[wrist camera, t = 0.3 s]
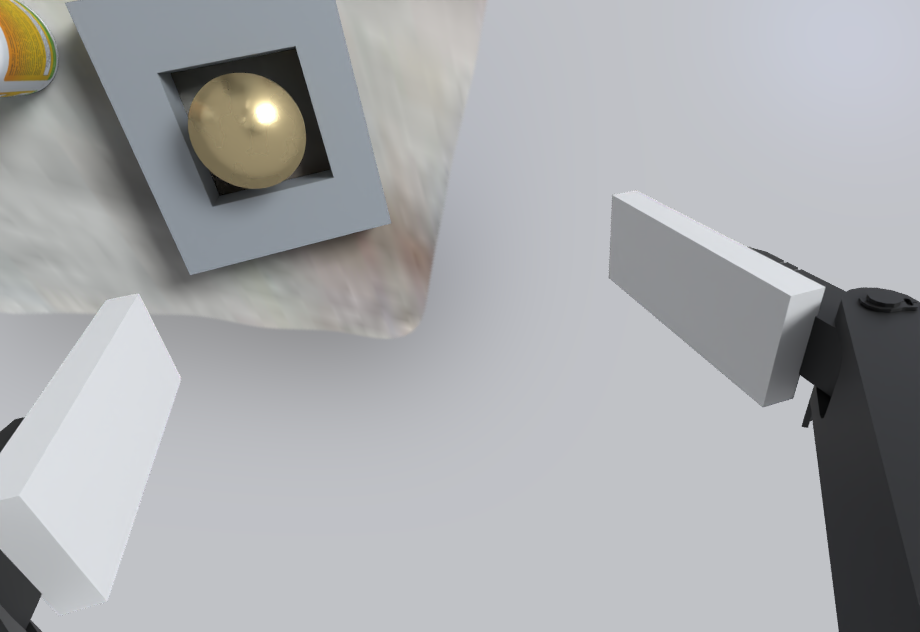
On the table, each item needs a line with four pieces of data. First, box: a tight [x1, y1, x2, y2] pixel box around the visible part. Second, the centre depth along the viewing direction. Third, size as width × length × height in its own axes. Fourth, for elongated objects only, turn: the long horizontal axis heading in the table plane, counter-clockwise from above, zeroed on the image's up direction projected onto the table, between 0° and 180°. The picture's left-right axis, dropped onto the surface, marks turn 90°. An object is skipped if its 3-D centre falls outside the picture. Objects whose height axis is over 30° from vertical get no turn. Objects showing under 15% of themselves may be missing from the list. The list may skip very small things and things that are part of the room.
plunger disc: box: [188, 73, 306, 189], centre depth 31 cm, size 6×6×2 cm
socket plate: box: [65, 0, 391, 275], centre depth 34 cm, size 16×14×4 cm
